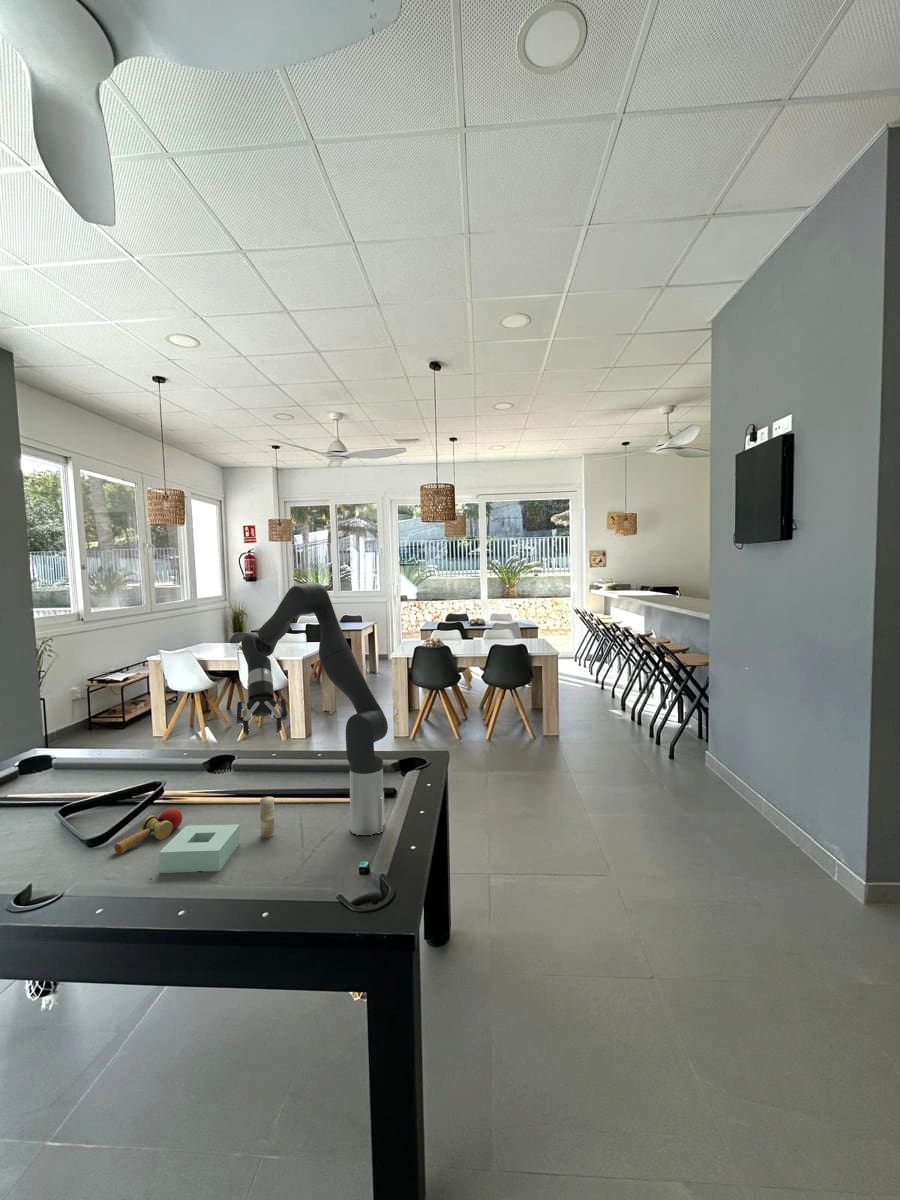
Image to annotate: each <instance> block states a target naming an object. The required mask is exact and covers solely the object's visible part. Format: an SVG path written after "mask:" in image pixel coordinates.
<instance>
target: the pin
mask: <svg viewBox="0 0 900 1200" xmlns="http://www.w3.org/2000/svg"><path fill="white" fill-rule="evenodd" d="M259 806H260V807H259V810H260V811H259V812H260V816H259V817H260V820H259V821H260V828H259V829H260V833H259V834H260V838H261V839H271V838H273V837H274V836H275V797H273V796H265V797H264V796H263V797H262V798H260V800H259Z"/></svg>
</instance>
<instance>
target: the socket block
mask: <svg viewBox="0 0 900 1200" xmlns="http://www.w3.org/2000/svg"><path fill="white" fill-rule="evenodd" d="M240 843H241V824H207V825H206V824H203V825H199V824H198V825H185V826H184V828H182V830H180V831H179V832H178V833H177V834H176V835H175V836H174V837H173V838H172V839H171V840H170V841H169V842H168V843H167V844H166V845H165V846H164V847H163V848H162V849H161V850H160V851H159V852H158V853H159V854H158V856H159V857H158V858H159V859H158V861H159V862H158V863H159V867H158V868H159V874H171V873H172V874H173V873H198V872H197V871H204V872H206V871H207V872H220V871H221V870H222V869H223V867H224V866H225V864H226V863H227V861H228V860H229V859H230V857H231V856H232V855H233V853H234V852H235V851H236V849H237V848H238V847H239V845H240Z"/></svg>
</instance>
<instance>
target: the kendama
mask: <svg viewBox="0 0 900 1200" xmlns="http://www.w3.org/2000/svg"><path fill="white" fill-rule="evenodd" d="M182 821H183V814H182V812H181V811H180V810H179V809H177V808H173V807H172V808H167V809H165V810H164V811H163V812H161V813H160V815H159V817H158V816H156V815H148V816H147V817H145V818H144V820H143V821H142V823H141V825H140V827H141V831H138V832H137V833H134V834H133V835H131V836H129V837H126V838H125V839H123V840H121V841H119V842H117V843H115V844H114V846H113V847H114V850H115V853H116V854H118V855H122V854H123V853H125V852H127V851H128V850H130V849H131V848H132V847H134V846H135V845H137V844H139V843H140V842H141V841H143V840H144V839H145V838H146V837H147V836H150V834H152V833H153V836H154V837H155V839H157V840H159V841H160V840H164V839H166V838H167V837H169V835H170V834H171V833H172V831H175V830H176V829H178V828H179V827H180V826H181V824H182Z"/></svg>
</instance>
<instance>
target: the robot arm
mask: <svg viewBox="0 0 900 1200" xmlns="http://www.w3.org/2000/svg"><path fill="white" fill-rule="evenodd" d="M333 606H334V605H333V603H332V600H331V598H330V596H329V593H328V591H327V589H326V588H325V586H324V585H323V583H322V584H321V583H319V582H305V583H297V584H294V585H293V586H291V587H290V588H289V590H288V591H287V592H286V594H285V595H284V597H283V598H282V600H281V601H280V603H279V605H278V606H277V608H276V610H275V611H274V613H273V615H271V616H270V618H269V619H268V620H267V621H265V622H264V624H263V625H262V626H260V628H259V630H258V632H257V633H255V632H247V633H245V635H243V637H242V639H241V642H240V645H241V646H240V649H241V651H242V654H243V656H244V660H245V662H246V664H247V686H246V688H247V702H246V703H245V702H242V701H238V702H237V704H236V706H237V707H236V724H242V732H243V733H242V734H244V735H245V736H249V733H250V732H249V731H250V729H249V728H250V726H249V722H250V721H252V719H253V718H254V717H259V718H260V717H268V716H270V718H271V719H274V720H275V729H276V730H275V732H276V733H278V734H279V733H280V732H281V731H282V728H283V727H282V721H283V720H284V721H285V720H287V718H288V717H287V716H288V711H287V703H286V699H284V698H282V699H280V700H277V701H276V699H275V693H274V692H275V691H274V679H273V673H272V663H271V660H270V658H269V656H271V655H272V654H273V653H274V652H275V649H276V647H277V644H278V642H279V641H280V640H281V639H282V638H283V637H285V635H286V634H287V633H288V632H289V630H290V627H291V621H292V620H293V619H295V618H296V617H298V616H303V615H304V616H306V615H310V614H311V615H312V614H314V615H315V616H316V619H317V623H318V625H319V627H320V639H319V646H318V657H319V661H320V662H321V666H322V668H323V670H324V672H325V674H326V676H327V677H328V679H329V680H330V682H332V684H333V685H334V686H335V687H337V688H338V689H339V690H340V691H341V692H342V693H343V694H344V695H345V696H346V697H347V698H348V699H349V701H350V702H351V703H352V705H353V707H354V709H355V714H352V715H351V716H349V718H348V720H347V722H346V724H345V725H346V726H345V732H344V733H345V749H346V758H347V761H348V764H349V815H350V816H349V818H350V819H349V827H350V830H351V831H350V833H351V832H352V833H351V834H353V833H354V834H356V835H355V836H358V835H371V834H374V833H378V832H381V831H383V832H384V827H383V825H384V826H385V792H384V791H385V790H384V760H383V757H382V756H381V755H380V754H376V753H375V744H374V743H376V742H378V741H380V740H382V739H384V738H385V737H386V735H387V733H388V730H389V724H388V719H387V717H386V715H385V713H384V711H383V710H382V708H381V706H380V704H379V703H378V701H377V700H376V698H375V697H374V694H373V693H372V691H371V689H370V688H369V685H368V684H367V682H366V679H365V677H364V674H363V673H362V671H361V669H360V666H359V664H358V662H357V660H356V657H355V655H354V653H353V651H352V649H351V646H350V644H349V643H348V642H347V638H346V637H345V634H344V633H343V630H342V628H341V625H340V623H339V621H338V617H337V615H336V613H335V609H334V607H333ZM276 706H277V707H278V708H279V709H280V711H281V713H280V712H278V710H277V709H276ZM245 709H247V710H248V712H246V714H245V716H244V717H243V716H242V712H243V711H245ZM354 834H353V835H354ZM378 834H379V833H378ZM371 836H372V835H371Z"/></svg>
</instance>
